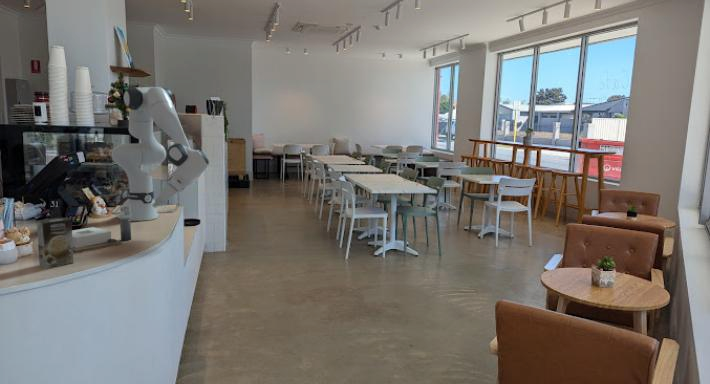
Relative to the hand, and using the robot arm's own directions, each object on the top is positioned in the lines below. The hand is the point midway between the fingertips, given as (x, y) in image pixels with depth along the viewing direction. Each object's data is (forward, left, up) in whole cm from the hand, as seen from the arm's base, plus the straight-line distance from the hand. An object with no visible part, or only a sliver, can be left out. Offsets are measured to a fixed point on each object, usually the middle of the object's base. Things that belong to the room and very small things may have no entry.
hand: (155, 204), depth 208 cm
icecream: (-47, -23, -15) cm, 55 cm away
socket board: (-14, -23, -15) cm, 31 cm away
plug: (-8, -9, -15) cm, 19 cm away
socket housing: (-14, -23, -15) cm, 31 cm away
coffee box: (+6, -43, -15) cm, 46 cm away
